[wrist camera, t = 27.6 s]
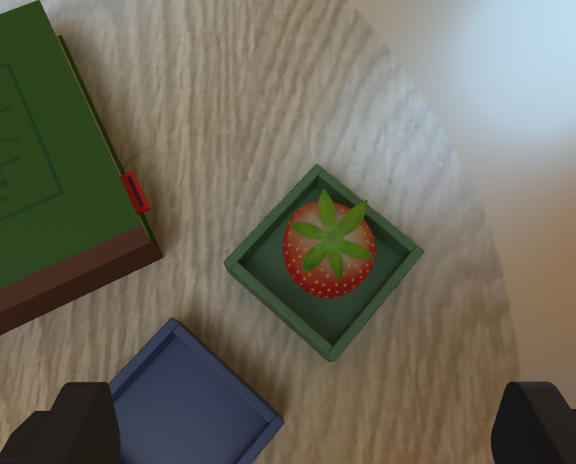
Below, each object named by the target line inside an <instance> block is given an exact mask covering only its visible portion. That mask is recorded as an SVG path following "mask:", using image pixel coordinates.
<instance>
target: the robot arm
mask: <svg viewBox="0 0 576 464" xmlns="http://www.w3.org/2000/svg"><path fill="white" fill-rule="evenodd" d="M120 445H121V437H120V430H119V426H118V421H117V417H116V412H115V408H114V404H113V399H112V395H111V390H110V387H109V385H108V383H106V382H68V383H66V384H65V385H64V386H63V387H62V389H61V390H60V392H59V394H58V396H57V398H56V400H55V402H54V404H53V406H52V408H51V410H50V411H35V412H34V413H33V414H32V415H31V416H29V417H28V418H27V419H26V420H25V421H24V422H23V423H22V424H21V425H20V426H19V427H18V428H17V429H16V430H15V431H14V432H13V433H12V434H11V435H10V437H9V439H8V440H7V442H6V444H5V446H4V447H3V449H2V451H1V453H0V464H118V460H119V455H120ZM491 449H492V455H493V459H494V462H495V464H576V409H571V408H570V407H569V406H568V404H567V402H566V401H565V399H564V398H563V396H562V395H561V393H560V392H559V390H558V389H557V388H556V386H555V385H553V384H552V383H551V382H509V383H508V384H507V386H506V388H505V391H504V394H503V397H502V400H501V403H500V406H499V410H498V413H497V416H496V419H495V422H494V425H493V428H492V432H491Z"/></svg>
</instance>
